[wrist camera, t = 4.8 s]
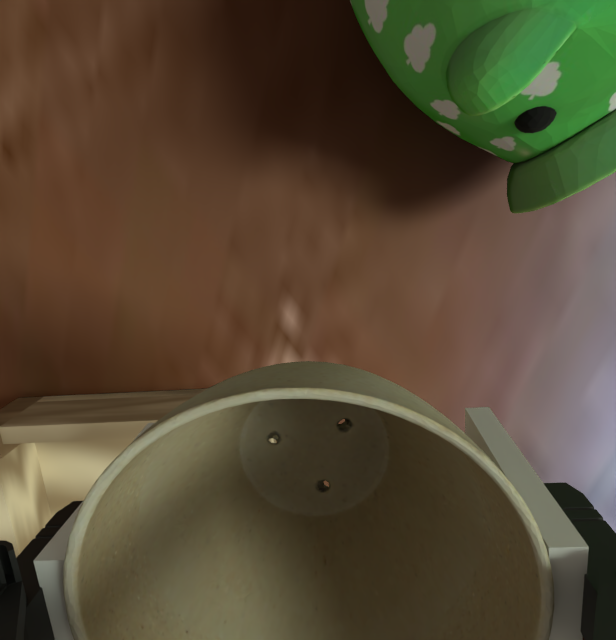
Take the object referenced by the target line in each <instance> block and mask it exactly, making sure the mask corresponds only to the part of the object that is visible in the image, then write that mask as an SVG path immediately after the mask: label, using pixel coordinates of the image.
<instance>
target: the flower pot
mask: <svg viewBox="0 0 616 640" xmlns="http://www.w3.org/2000/svg"><path fill="white" fill-rule="evenodd" d="M342 419H345V422H343V423H342V424H338V422H339V421H341V420H342ZM271 438H274V439H275V440H277V443H271V442H270V441H269V439H271ZM325 480H326V481H327V482H329V487H327V486H325V485H324V483H323V482H324V481H325ZM63 590H64V600H65V606H66V612H67V619H68V622H69V626H70V629H71V633H72V636H73V638H74V640H549V637H550V633H551V628H552V621H553V613H554V581H553V575H552V568H551V564H550V560H549V557H548V553H547V548H546V546H545V544H544V541H543V538H542V535H541V532H540V530H539V528H538V525H537V523H536V521H535V519H534V517H533V515H532V513H531V512H530V510H529V508H528V507H527V505H526V503H525V501H524V500H523V498H522V497H521V495H520V494H519V493H518V491H517V490H516V488H515V487H514V486H513V485H512V484H511V482H510V481H509V480H508V479H507V477H506V476H505V475H504V474H503V473H502V471H501V470H500V469H499V468H498V467H497V466H496V464H495V463H494V462H493V461H492V460H491V459H490V458H489V457H488V456H487V455H486V454H485V453H484V452H483V451H482V450H481V449H480V448H479V447H478V446H477V445H476V444H475V443H474V442H473V441H472V440H471V439H470V438H469V437H468V436H467V435H466V434H465V433H464V432H463V431H462V430H460V429H459V428H458V427H457V426H456V425H455V424H453V423H452V422H451V421H450V420H449V419H448V418H447V417H445V416H444V415H443V414H441V413H440V412H439V411H437V410H436V409H435V408H433V407H432V406H431V405H429V404H428V403H426V402H425V401H424V400H422V399H421V398H419V397H417V396H416V395H414V394H412V393H411V392H409V391H407V390H406V389H404V388H402V387H401V386H399V385H397V384H395V383H393V382H391V381H389V380H386V379H384V378H382V377H380V376H378V375H375V374H372V373H370V372H367V371H364V370H361V369H357V368H354V367H350V366H346V365H341V364H334V363H328V362H310V361H306V362H290V363H282V364H276V365H271V366H266V367H262V368H259V369H255V370H251V371H248V372H245V373H242V374H240V375H237V376H234V377H232V378H229V379H227V380H225V381H223V382H221V383H218V384H216V385H214V386H212V387H210V388H208V389H207V390H205V391H203V392H201V393H199V394H197V395H196V396H194V397H192V398H191V399H189V400H187V401H186V402H184V403H182V404H181V405H179V406H178V407H176V408H175V409H173V410H172V411H171V412H169V413H168V414H166V415H165V416H164V417H162V418H161V419H160V420H158V421H157V422H155V423H154V424H153V425H151V426H150V427H149V428H148V429H147V430H146V431H144V432H143V433H142V434H141V435H140V436H139V437H137V438H136V439H135V440H134V441H133V442H132V443H131V444H130V445H129V446H127V447H126V448H125V449H124V450H123V451H122V452H121V453H120V454H119V455H118V456H117V457H116V458H115V459H114V460H113V461H112V462H111V463H110V465H109V466H108V467H107V468H106V469H105V470H104V471H103V473H102V474H101V475H100V476H99V478H98V479H97V480H96V481H95V483H94V484H93V486H92V488H91V489H90V491H89V492H88V494H87V496H86V498H85V499H84V501H83V503H82V505H81V507H80V509H79V511H78V513H77V515H76V518H75V521H74V523H73V526H72V529H71V533H70V536H69V539H68V543H67V548H66V555H65V560H64V567H63Z"/></svg>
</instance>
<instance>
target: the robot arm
mask: <svg viewBox="0 0 616 640" xmlns="http://www.w3.org/2000/svg"><path fill="white" fill-rule="evenodd" d="M153 424H154V423H148V424H147V425H146V426H145V427H144V428H143V430H142V431H141V432H140V433H139V434H138V436H137V437H139V436H140V435H141V434H142V433H143V432H144V431H146V430H147V429H148V428H149V427H150V426H151V425H153ZM465 434H466V435H467V436H468V437H469V438H470V439H471V440H472V441H473V442H474V443H475V444H476V445H477V446H478V447H479V448H480V449H481V450H482V451H483V452H484V453H485V454H486V455H487V456H488V457H489V458H490V459H491V460H492V461H493V462H494V463H495V464H496V466H497V467H498V468H499V469H500V470H501V471H502V473H503V474H504V475H505V476H506V477H507V479H508V480H509V481H510V482H511V484H512V485H513V486H514V487H515V488H516V490H517V491H518V493H519V494H520V495H521V497H522V498H523V500H524V501H525V503H526V505H527V507H528V508H529V510H530V512H531V513H532V515H533V517H534V519H535V521H536V523H537V525H538V528H539V530H540V532H541V535H542V538H543V541H544V544H545V546H546V548H547V553H548V557H549V560H550V564H551V568H552V575H553V581H554V613H553V621H552V628H551V633H550V637H549V640H582V635H583V637H584V639H585V640H616V533H615V532H614V531H613V530H612V528H611V527H610V526H609V525H608V524H607V522H606V521H603V517H602V516H601V515H600V514H599V513H598V511H597V510H594V507H593V505H592V504H591V503H590V502H589V500H588V499H587V498H586V497H585V496H584V494H583V493H581V492H580V491H578V490H576V489H575V488H573V487H572V486H570V485H569V484H567V483H543V482H542V481H541V479H540V478H539V477H538V475H537V474H536V472H535V471H534V470H533V468H532V467H531V465H530V464H529V463H528V461H527V460H526V458H525V457H524V456H523V454H522V453H521V451H520V450H519V449H518V447H517V446H516V444H515V443H514V442H513V440H512V439H511V437H510V436H509V435H508V433H507V432H506V430H505V429H504V428H503V426H502V425H501V423H500V422H499V421H498V419H497V418H496V416H495V415H494V414H493V412H492V411H491V409H490V408H489V407H480V408H465ZM137 437H136V438H137ZM136 438H135V439H136ZM135 439H134V440H135ZM134 440H133V441H134ZM82 503H83V501H73V502H71V503H70V504H68V505H67V506H65V507H64V508H62V509H61V510H59V511H58V512H56V514H55V515H54V516H53V517H52V518H51V519H50V520H49V521H48V523H47V524H46V525H45V528H42V529H41V530H40V532H39V533H38V534H37V535H36V538H35V539H33V540H32V541H31V542H30V543H29V544H28V545H27V546H26V547H25V549H24V550H23V551H22V552H21V553H20V554H19V555H18V556H17V558H16V555H15V551H14V547H13V544H12V543H10V542H8V541H5V540H0V640H74V638H73V636H72V633H71V629H70V626H69V622H68V619H67V612H66V606H65V600H64V590H63V567H64V560H65V555H66V548H67V543H68V539H69V536H70V533H71V529H72V526H73V523H74V521H75V518H76V515H77V513H78V511H79V509H80V507H81V505H82Z"/></svg>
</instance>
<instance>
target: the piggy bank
mask: <svg viewBox="0 0 616 640" xmlns="http://www.w3.org/2000/svg"><path fill="white" fill-rule="evenodd" d="M350 2H351V5H352V8H353V10H354V13H355V16H356V18H357V20H358V22H359V24H360V27H361V29H362V31H363V33H364V35H365V37H366V39H367V41H368V42H369V44H370V46H371V48H372V50H373V51H374V53H375V55H376V56H377V58H378V59H379V61H380V62H381V64H382V65H383V67H384V68H385V70H386V71H387V73H388V74H389V76H390V78H391V79H392V81H393V82H394V83H395V84H396V85H397V86H398V88H399V89H400V90H401V91H402V92H403V93H404V94H405V95H406V96H407V97H408V98H409V99H410V100H411V101H412V102H413V103H414V104H415V105H416V106H417V107H418V108H419V109H420V110H421V111H422V112H424V113H425V114H426V115H427V116H429V117H430V118H431V119H432V120H434V121H435V122H436V123H437V124H439V125H440V126H442V127H444V128H445V129H447V130H448V131H450V132H451V133H453V134H455V135H456V136H458V137H459V138H461V139H463V140H465V141H467V142H469V143H471V144H473V145H475V146H477V147H479V148H481V149H483V150H485V151H487V152H489V153H492V154H494V155H496V156H498V157H500V158H502V159H504V160H506V161H508V162H512V163H514V164H513V165H512V166H511V169H510V172H509V175H508V178H507V197H508V202H509V207H510V211H511V212H512V213H523V212H530V211H535V210H538V209H541V208H543V207H546V206H549V205H552V204H554V203H556V202H559V201H561V200H563V199H565V198H567V197H569V196H572V195H574V194H576V193H578V192H580V191H582V190H584V189H586V188H588V187H590V186H591V185H593V184H595V183H597V182H598V181H600V180H602V179H604V178H606V177H607V176H609V175H611V174H613V173H614V172H616V0H350Z"/></svg>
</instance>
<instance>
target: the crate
mask: <svg viewBox="0 0 616 640" xmlns="http://www.w3.org/2000/svg"><path fill="white" fill-rule="evenodd" d="M205 390H207V389H189V390H168V391H147V392H127V393H106V394H86V395H65V396H45V397H24V398H17V399H16V400H14V401H13V402H11V403H9V404H8V405H6V406H5V407H3V408H1V409H0V540H5V541H8V542H10V543H12V544H13V547H14V551H15V555H16V558H17V556H18V555H19V554H20V553H21V552H22V551H23V550H24V549H25V547H26V546H27V545H28V544H29V543H30V542H31V541H32V540H33V539H35V538H36V535H37V534H38V533H39V532H40V530H41V529H42V528H45V525H46V524H47V523H48V521H49V520H50V519H51V518H52V517H53V516H54V515H55V514H56V512H58V511H59V510H61V509H62V508H64V507H65V506H67V505H68V504H70V503H71V502H73V501H84V499H85V498H86V496H87V494H88V492H89V491H90V489H91V488H92V486H93V484H94V483H95V481H96V480H97V479H98V478H99V476H100V475H101V474H102V473H103V471H104V470H105V469H106V468H107V467H108V466H109V465H110V463H111V462H112V461H113V460H114V459H115V458H116V457H117V456H118V455H119V454H120V453H121V452H122V451H123V450H124V449H125V448H126V447H127V446H129V445H130V444H131V443H132V442H133V440H134V439H135V438H136V437H137V436H138V434H139V433H140V432H141V431H142V430H143V428H144V427H145V426H146V425H147V424H148V423H155V422H157V421H158V420H160V419H161V418H162V417H164V416H165V415H166V414H168V413H169V412H171V411H172V410H173V409H175V408H176V407H178V406H179V405H181V404H182V403H184V402H186V401H187V400H189V399H191V398H192V397H194V396H196V395H197V394H199V393H201V392H203V391H205ZM269 441H270V442H271V443H276V440H275V439H274V438H271V439H269Z"/></svg>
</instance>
